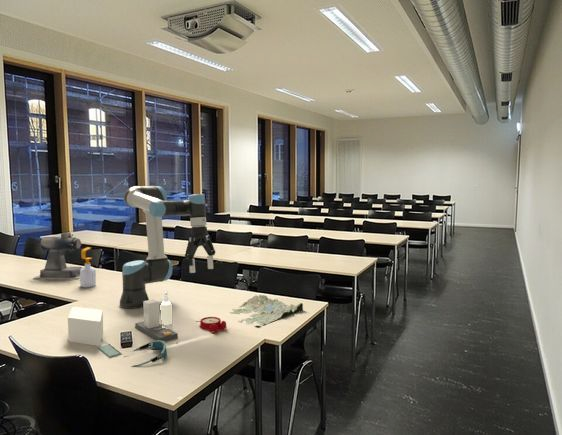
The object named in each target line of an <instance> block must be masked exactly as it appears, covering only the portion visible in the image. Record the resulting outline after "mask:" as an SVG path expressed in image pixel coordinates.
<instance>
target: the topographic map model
mask: <svg viewBox="0 0 562 435" xmlns="http://www.w3.org/2000/svg"><path fill="white" fill-rule="evenodd" d="M303 306H304V304H303V303H301V302H300V303H298V304H297V305H294V304H289V305H287V304H286V303H284V302H283V301H281V300H279V299H277V298H275V299H272V298H269V297H268V296H267V295H264V294H260V295H254V296H253V297H252V298H248V300H246V301H245V302H243V303H242V304H241V305H239V306H238V308H237V309H236V308H232V311H228V313H230V314H231V315H233V314H234V315H240V314H243V315H244V314H245V315H246V314H247V315H248V314H250V313H251V315H249V317H246V318H245V319H244V318H243V319H241V320H237V323H241V324H242V323H244V322H245V324H246V326H247V325H252V326H254V328H257V329H259V328H261V327H263V326H267V325H269V324H271V323H274V322H276V321H277V322H278V321H279V320H281V319H284V318H287V317H290V316H292V315H294V314H297V313H300V312H303V311H304V307H303ZM242 307H243V308H242ZM244 307H245V308H244ZM299 311H300V312H299ZM252 313H253V314H252ZM253 323H256V324H259V325H254V324H253Z"/></svg>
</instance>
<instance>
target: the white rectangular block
mask: <svg viewBox="0 0 562 435" xmlns="http://www.w3.org/2000/svg"><path fill="white" fill-rule="evenodd" d="M67 331H68V333H67V334H68V335H67V337H68V342H69V343H70V342H71V343H77V344H78V343H79V344H86V345H90V346H97V347H99V346H102V340H103V334H104V333H103V332H104V311H103V310H102V309H97V308H95V309H94V308H86V307H80V306H79V307H78V306H72V308H71V310H70V312H69V315H68V317H67Z"/></svg>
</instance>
